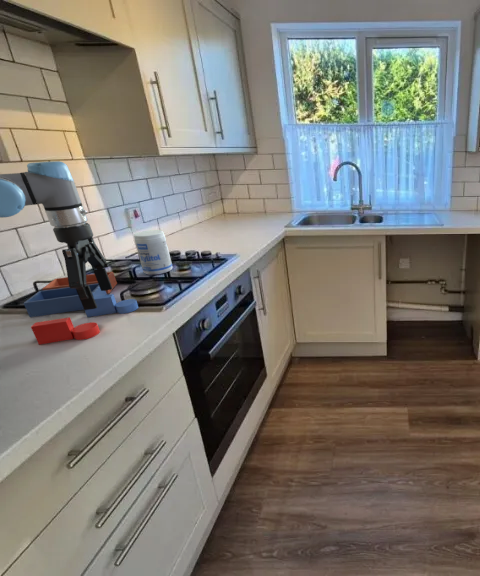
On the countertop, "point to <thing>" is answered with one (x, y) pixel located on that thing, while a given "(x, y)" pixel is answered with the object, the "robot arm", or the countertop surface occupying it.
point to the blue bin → (57, 301)
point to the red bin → (89, 280)
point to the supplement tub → (153, 252)
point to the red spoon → (63, 330)
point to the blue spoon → (111, 306)
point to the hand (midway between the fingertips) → (99, 298)
